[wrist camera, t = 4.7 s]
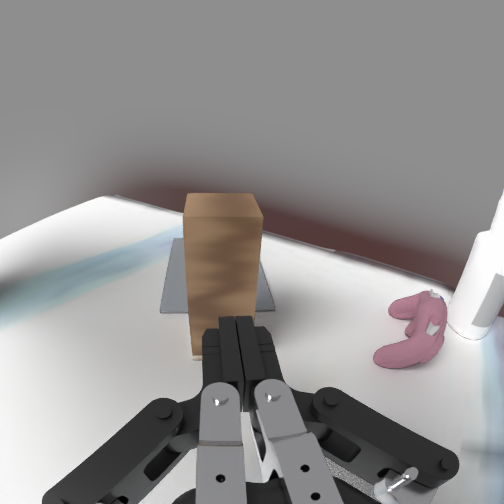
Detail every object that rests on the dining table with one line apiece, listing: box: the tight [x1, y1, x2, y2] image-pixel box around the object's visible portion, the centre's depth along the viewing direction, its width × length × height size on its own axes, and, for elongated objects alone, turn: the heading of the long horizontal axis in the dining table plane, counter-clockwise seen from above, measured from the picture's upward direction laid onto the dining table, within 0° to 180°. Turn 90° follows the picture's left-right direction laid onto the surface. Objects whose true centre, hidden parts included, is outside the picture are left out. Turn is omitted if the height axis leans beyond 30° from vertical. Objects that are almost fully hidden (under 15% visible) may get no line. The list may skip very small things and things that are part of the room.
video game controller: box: [373, 289, 448, 368], centre depth 25 cm, size 10×5×7 cm, turn 148°
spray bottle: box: [447, 190, 504, 340], centre depth 24 cm, size 7×7×18 cm
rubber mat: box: [160, 238, 275, 313], centre depth 37 cm, size 17×12×1 cm
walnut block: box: [183, 193, 263, 360], centre depth 23 cm, size 5×5×13 cm
